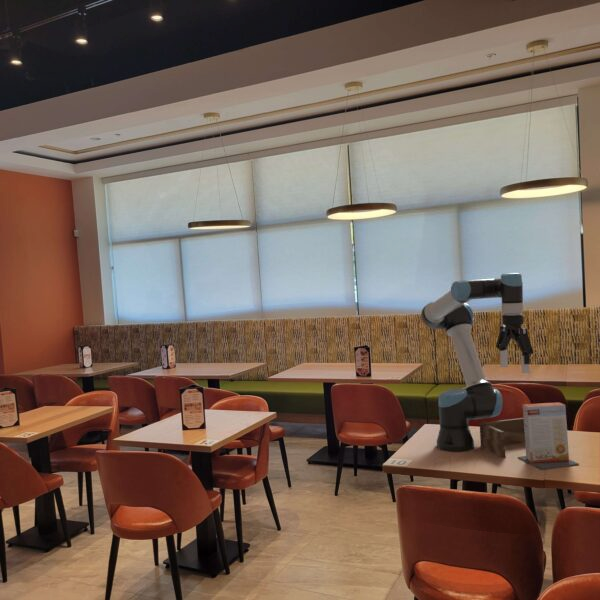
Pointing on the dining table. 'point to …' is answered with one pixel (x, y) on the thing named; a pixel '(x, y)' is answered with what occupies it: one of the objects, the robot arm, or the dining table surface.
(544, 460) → the cracker box
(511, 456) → the dining table surface
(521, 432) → the cubby shelf
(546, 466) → the mat
